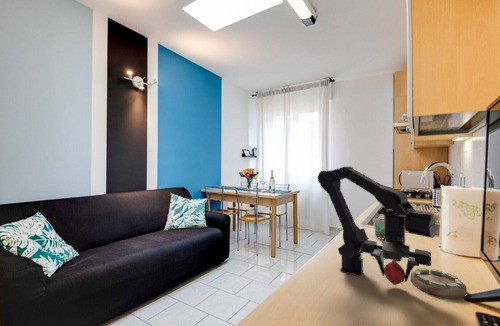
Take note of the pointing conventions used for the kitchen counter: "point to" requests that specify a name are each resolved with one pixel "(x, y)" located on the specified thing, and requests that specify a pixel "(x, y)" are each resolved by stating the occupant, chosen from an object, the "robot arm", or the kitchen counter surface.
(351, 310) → the kitchen counter surface
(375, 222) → the food container
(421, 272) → the display stand
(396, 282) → the pomegranate
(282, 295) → the kitchen counter surface
